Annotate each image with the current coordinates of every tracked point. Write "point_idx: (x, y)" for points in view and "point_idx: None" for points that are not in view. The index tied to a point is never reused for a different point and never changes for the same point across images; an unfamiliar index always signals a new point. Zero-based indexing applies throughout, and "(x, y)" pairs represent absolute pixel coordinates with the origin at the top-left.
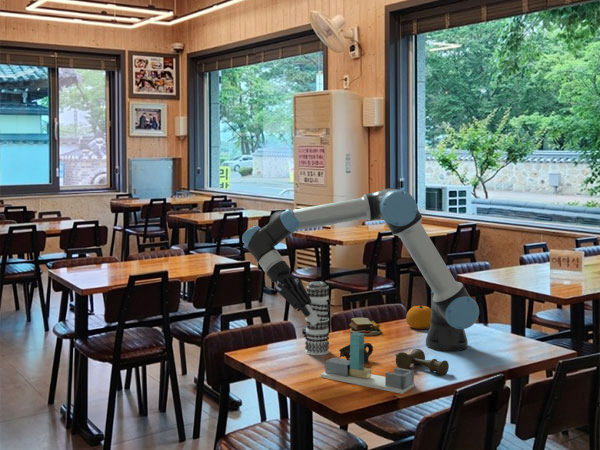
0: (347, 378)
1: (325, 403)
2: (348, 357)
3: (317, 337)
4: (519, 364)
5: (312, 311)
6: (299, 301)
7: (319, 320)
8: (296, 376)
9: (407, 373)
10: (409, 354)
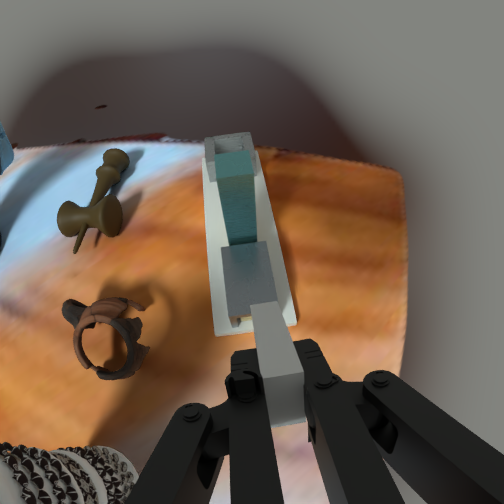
0: (274, 250)
1: (400, 207)
2: (105, 369)
3: (104, 469)
4: (42, 150)
5: (272, 335)
6: (353, 412)
7: (256, 306)
8: (340, 375)
9: (228, 135)
10: (88, 209)
